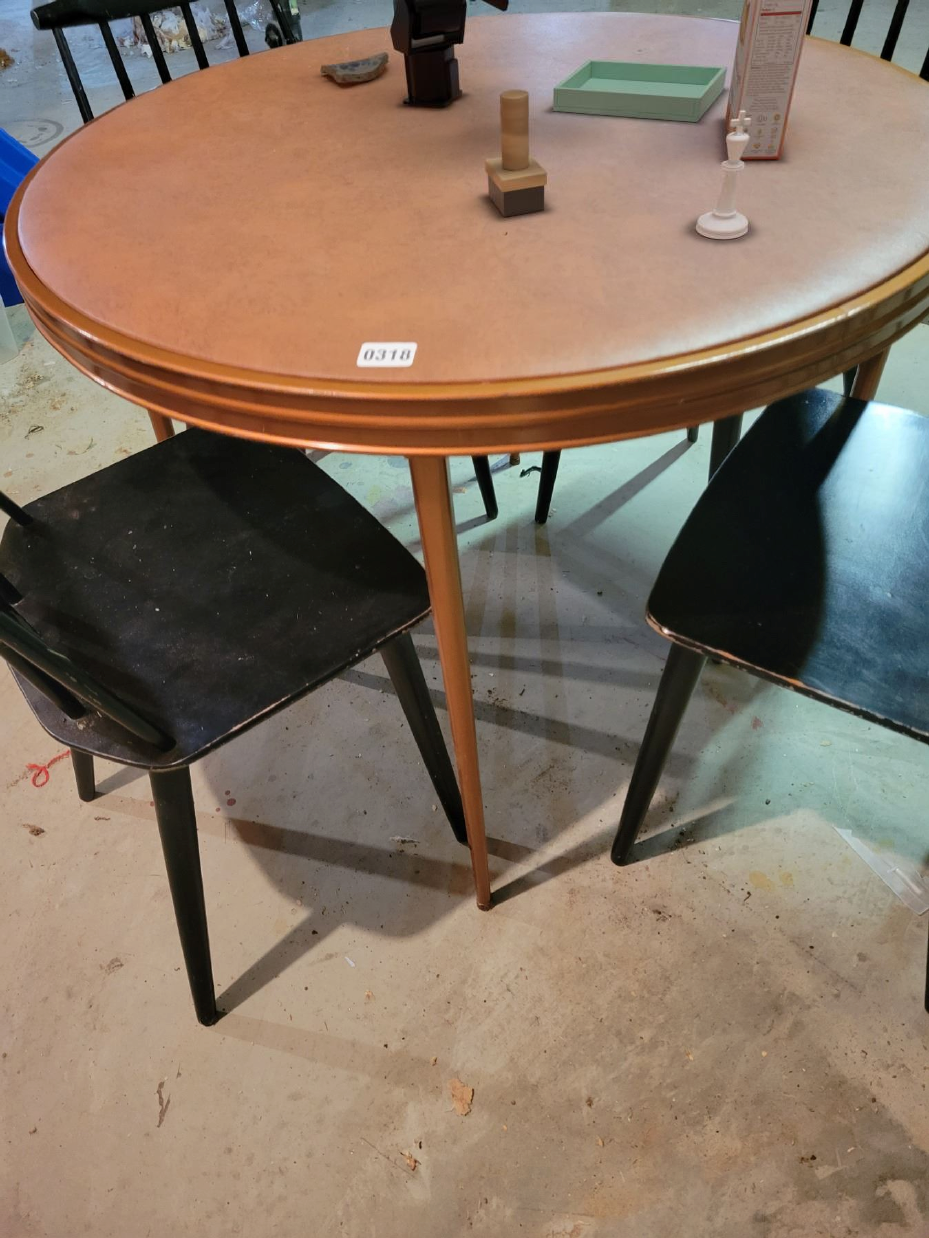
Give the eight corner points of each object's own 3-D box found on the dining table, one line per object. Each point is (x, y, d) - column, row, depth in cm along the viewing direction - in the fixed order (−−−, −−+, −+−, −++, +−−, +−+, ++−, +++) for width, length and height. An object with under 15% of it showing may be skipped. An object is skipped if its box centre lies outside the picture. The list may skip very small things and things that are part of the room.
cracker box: (721, 120, 96) (758, -110, 80) (772, 119, 95) (820, -114, 79) (724, 161, 87) (766, -89, 71) (780, 161, 86) (835, -93, 70)
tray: (552, 111, 102) (553, 88, 100) (587, 81, 110) (588, 59, 108) (696, 122, 96) (700, 98, 94) (723, 90, 103) (727, 67, 101)
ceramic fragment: (330, 77, 113) (316, 50, 119) (334, 101, 116) (319, 73, 121) (400, 65, 115) (383, 39, 120) (402, 88, 118) (385, 62, 123)
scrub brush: (486, 196, 85) (481, 88, 77) (528, 189, 85) (527, 81, 78) (503, 218, 81) (499, 107, 73) (546, 210, 81) (548, 99, 74)
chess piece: (689, 221, 77) (706, 105, 70) (738, 216, 77) (760, 100, 70) (703, 242, 74) (723, 123, 66) (754, 236, 74) (780, 117, 66)
